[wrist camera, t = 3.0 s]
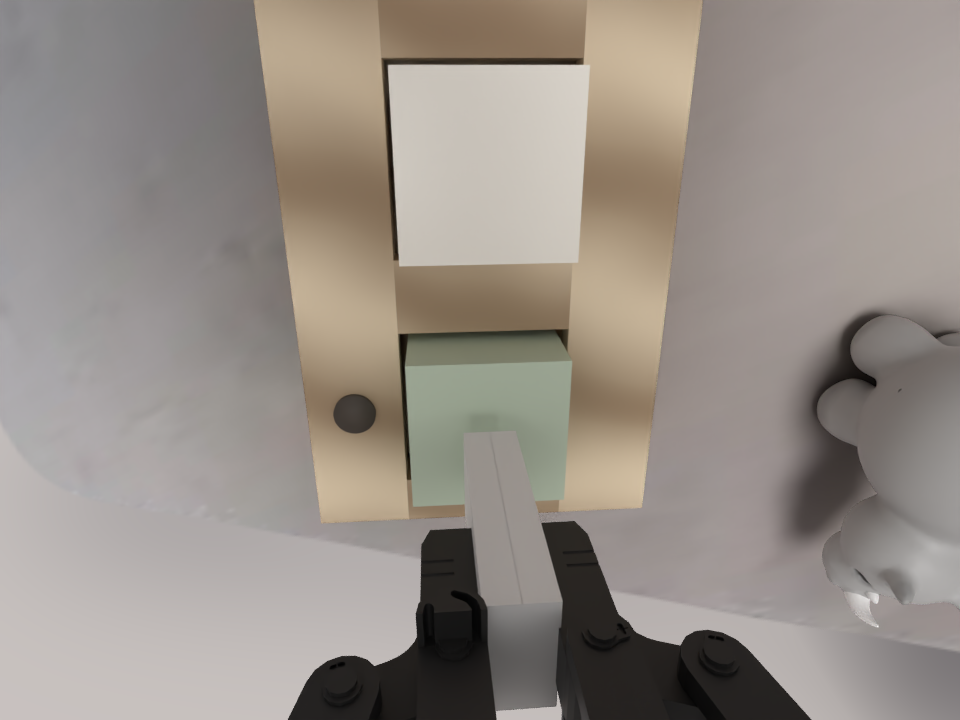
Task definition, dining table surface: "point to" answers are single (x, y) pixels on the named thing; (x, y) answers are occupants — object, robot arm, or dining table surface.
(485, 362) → the sage button
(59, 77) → the dining table surface
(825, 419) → the chubby cartoon animal
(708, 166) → the dining table surface
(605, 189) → the button panel
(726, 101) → the dining table surface
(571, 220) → the cream button
